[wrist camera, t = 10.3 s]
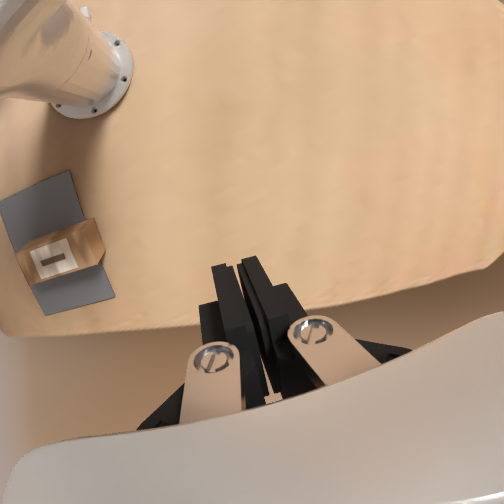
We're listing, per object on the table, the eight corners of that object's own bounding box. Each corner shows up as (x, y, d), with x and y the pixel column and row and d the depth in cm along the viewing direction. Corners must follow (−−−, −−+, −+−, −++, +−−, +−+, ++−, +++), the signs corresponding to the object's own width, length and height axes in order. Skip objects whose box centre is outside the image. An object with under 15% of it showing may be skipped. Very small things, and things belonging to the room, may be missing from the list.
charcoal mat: (-2, 202, 35) (-3, 203, 34) (69, 170, 36) (68, 170, 36) (45, 314, 43) (45, 315, 43) (115, 295, 44) (114, 296, 44)
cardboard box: (93, 217, 39) (29, 241, 38) (82, 229, 34) (13, 255, 33) (105, 250, 41) (41, 270, 40) (96, 265, 36) (28, 286, 35)
